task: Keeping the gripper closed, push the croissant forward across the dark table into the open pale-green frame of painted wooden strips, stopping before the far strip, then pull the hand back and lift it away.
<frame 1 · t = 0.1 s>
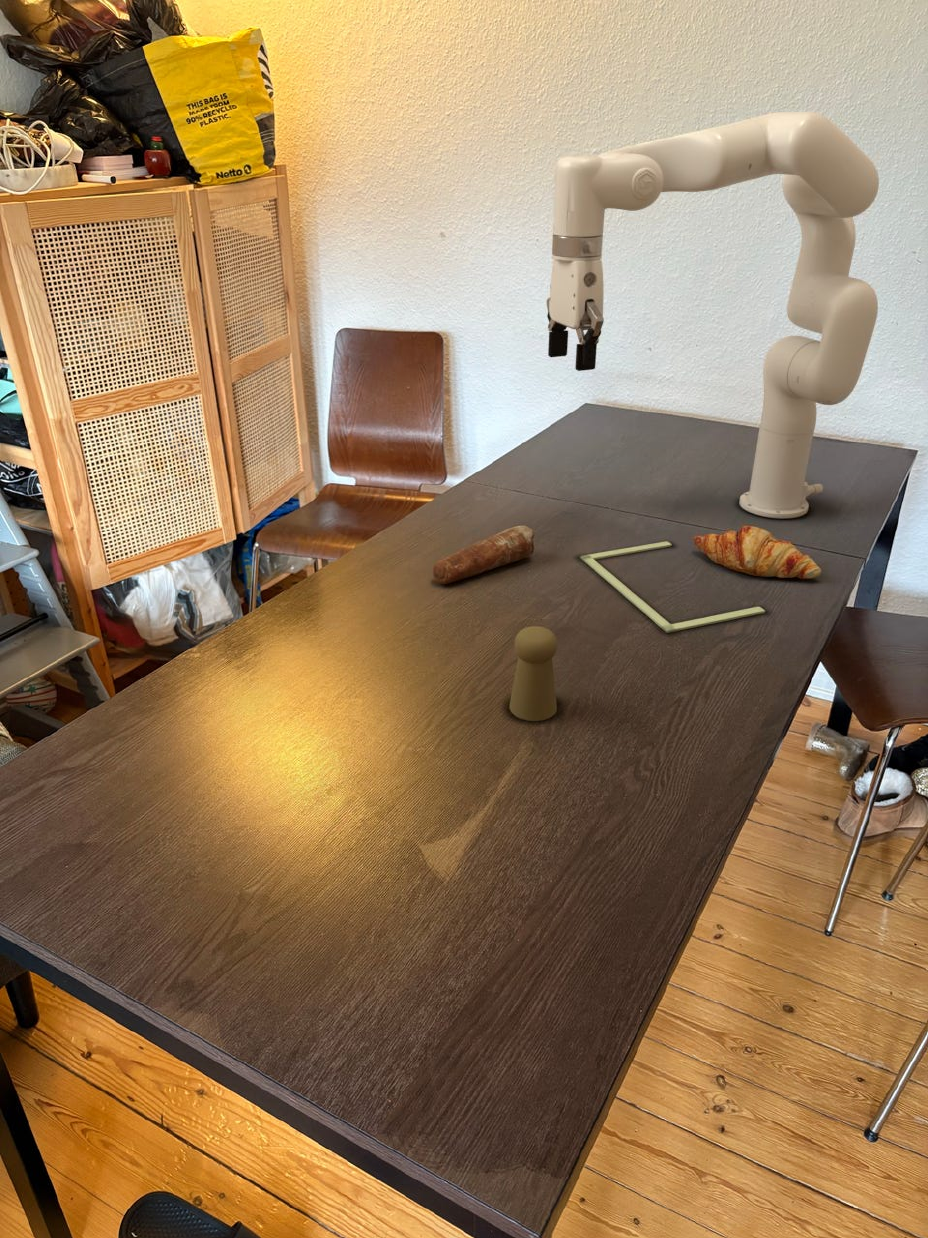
hand: (571, 362, 145), 31 cm above the table, tool pointing down, fingers open, 9 cm apart
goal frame: (667, 583, 145), on the table
croissant: (753, 568, 151), on the table
bread: (484, 571, 150), on the table
tan game pawn: (533, 708, 115), on the table
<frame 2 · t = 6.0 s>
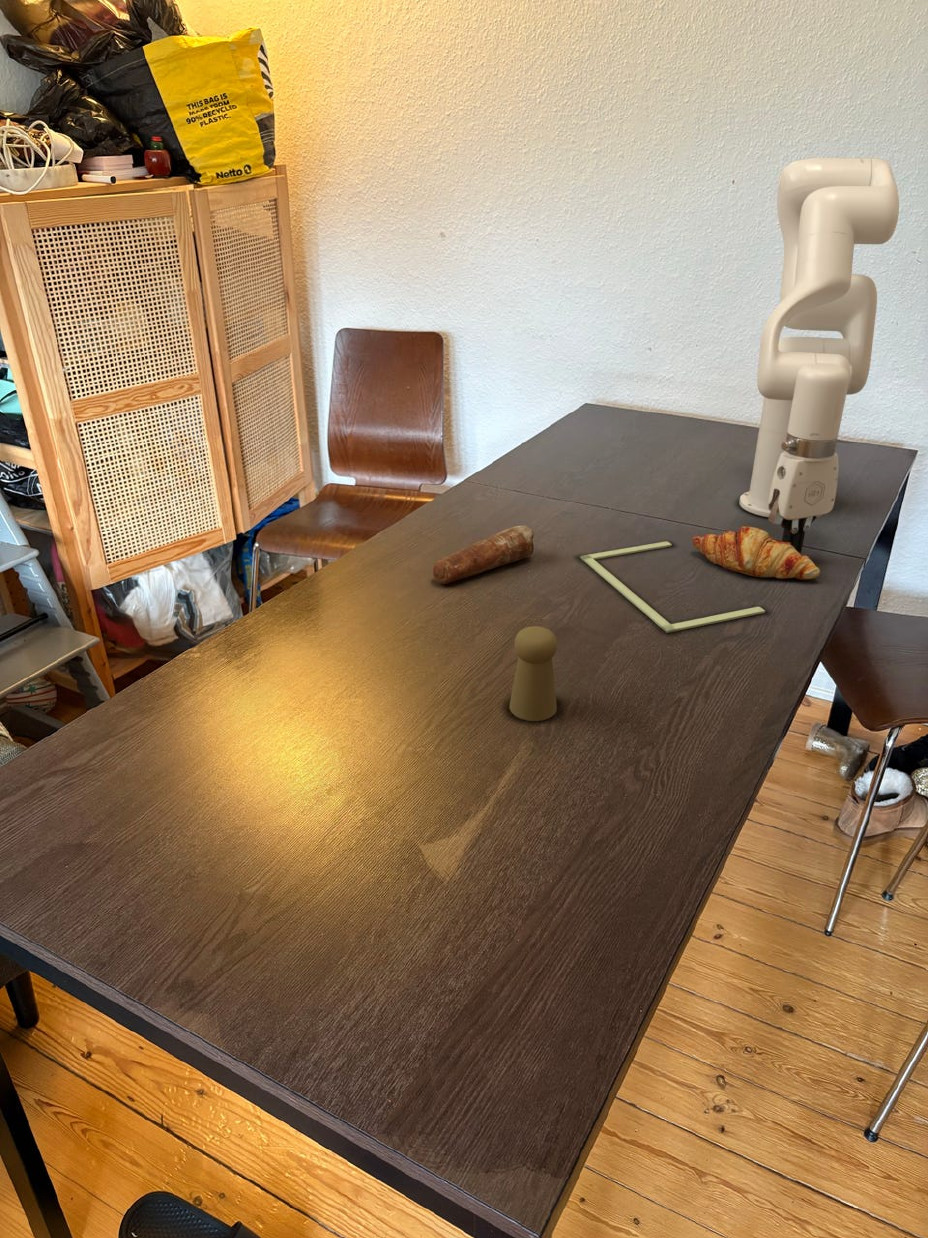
hand: (790, 551, 152), 2 cm above the table, tool pointing down, fingers closed
croissant: (751, 569, 150), on the table, touching gripper
everything else where it was.
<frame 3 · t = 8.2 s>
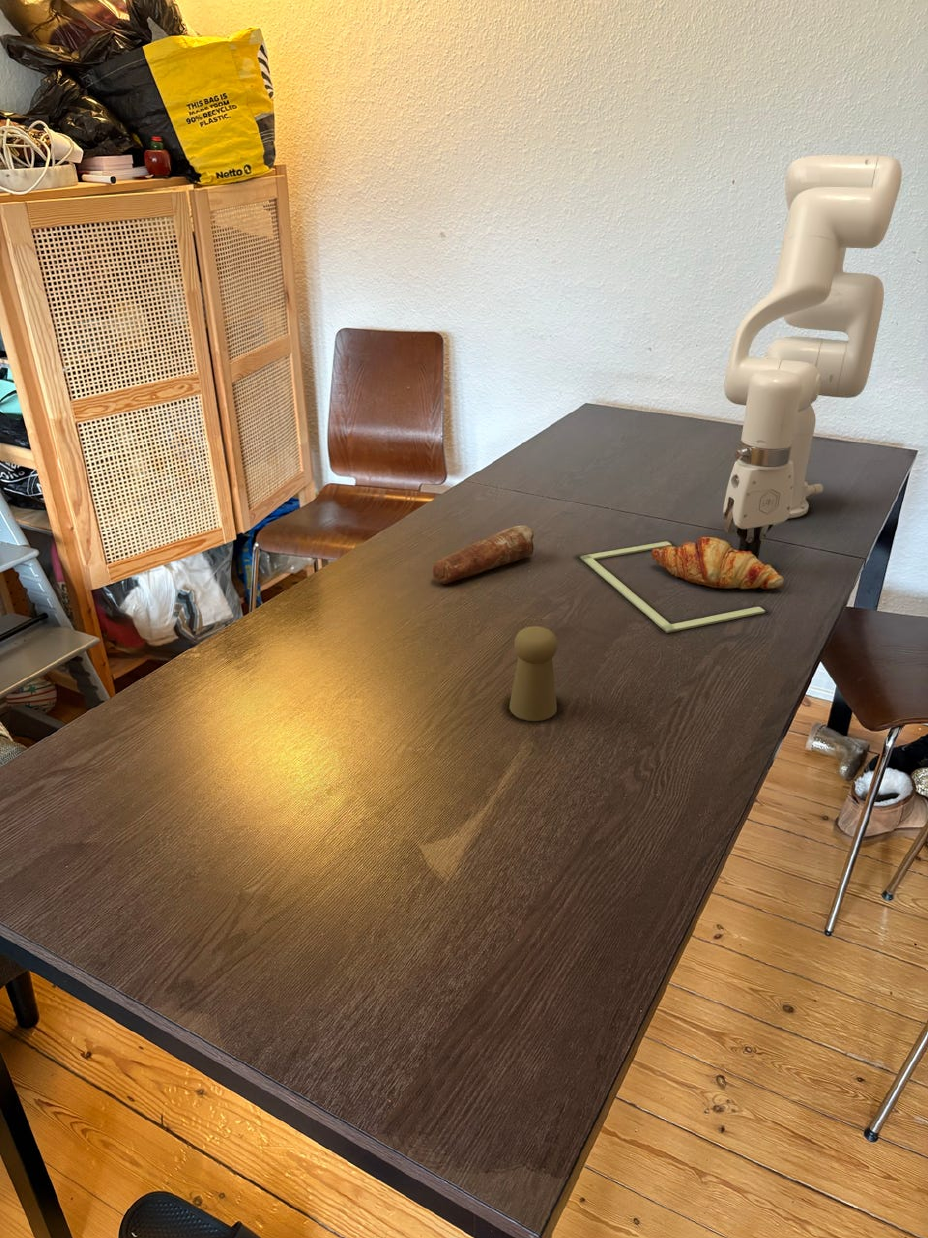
hand: (747, 560, 149), 2 cm above the table, tool pointing down, fingers closed
croissant: (713, 580, 147), on the table, touching gripper
everything else where it was.
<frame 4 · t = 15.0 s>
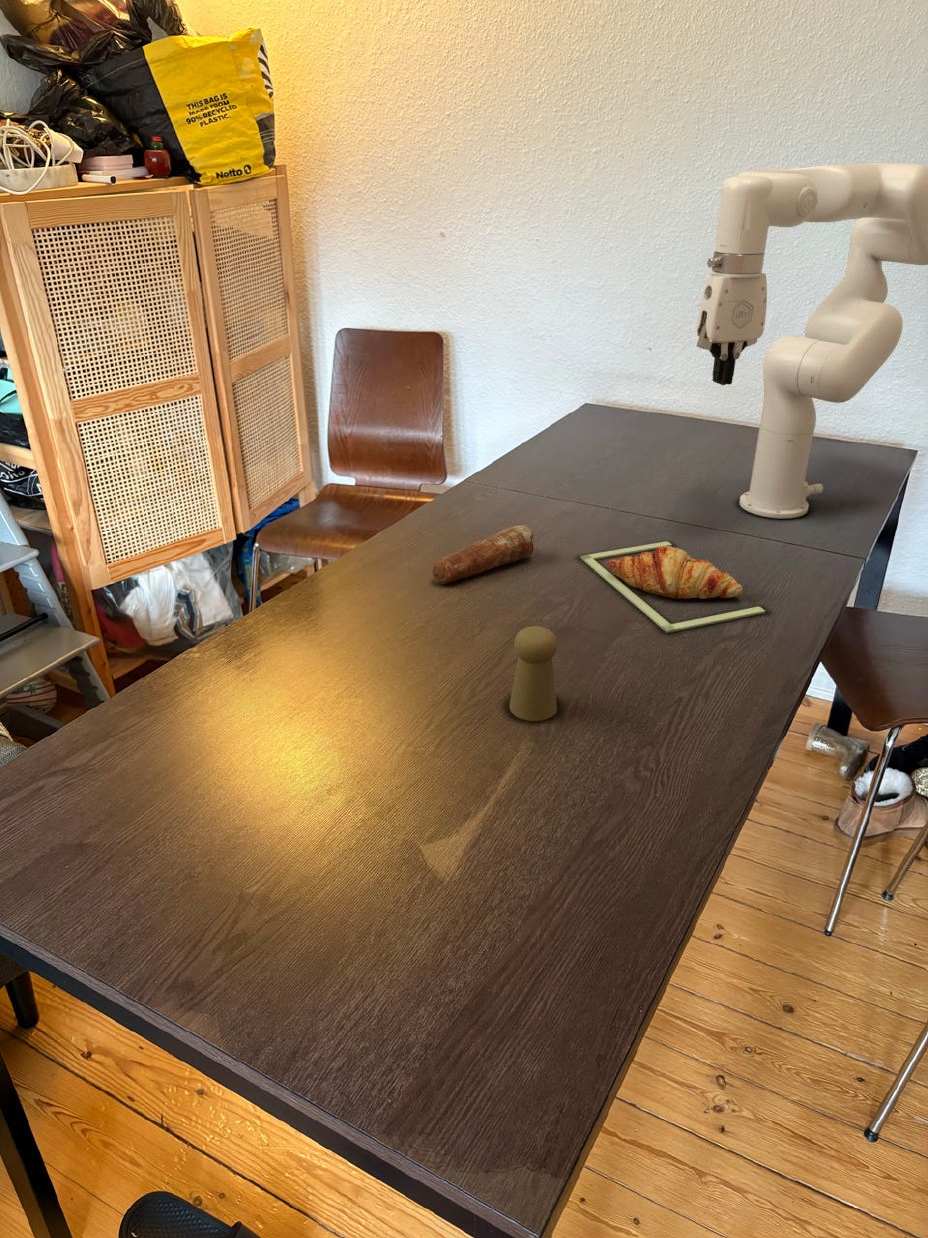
hand: (721, 382, 150), 27 cm above the table, tool pointing down, fingers closed
croissant: (672, 590, 144), on the table
everything else where it was.
at the end: croissant inside the target area (2.1 cm from its centre), on the table; croissant tilted 0° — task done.
